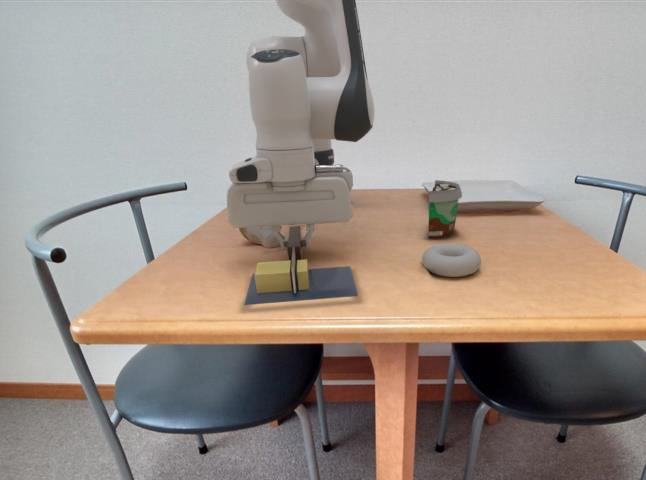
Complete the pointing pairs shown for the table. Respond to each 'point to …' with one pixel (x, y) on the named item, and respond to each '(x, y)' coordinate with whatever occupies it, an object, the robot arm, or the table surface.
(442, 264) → the donut
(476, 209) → the square plate
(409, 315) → the table surface
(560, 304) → the table surface
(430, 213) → the food container
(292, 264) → the knife
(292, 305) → the table surface
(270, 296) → the butter dish
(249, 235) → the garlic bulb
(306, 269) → the butter slice
